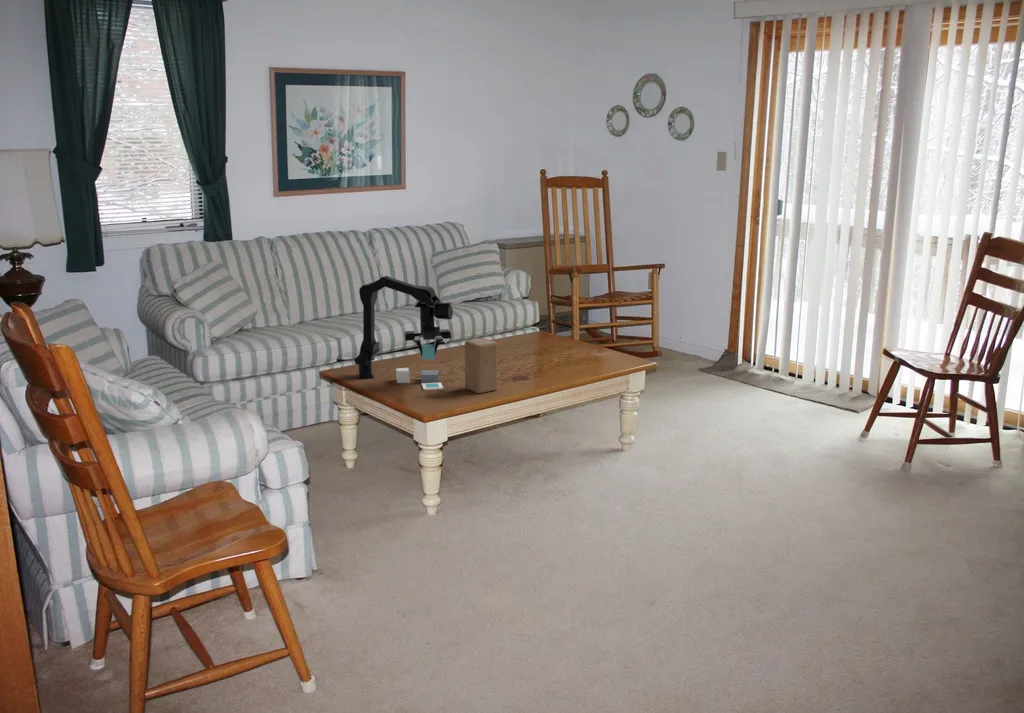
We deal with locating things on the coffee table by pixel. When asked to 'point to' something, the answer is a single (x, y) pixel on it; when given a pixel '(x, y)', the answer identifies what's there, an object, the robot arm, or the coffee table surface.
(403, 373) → the white block
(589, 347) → the coffee table surface
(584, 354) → the coffee table surface
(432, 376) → the slate base block
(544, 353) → the coffee table surface
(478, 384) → the wooden block
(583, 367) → the coffee table surface
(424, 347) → the teal block
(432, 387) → the tile
